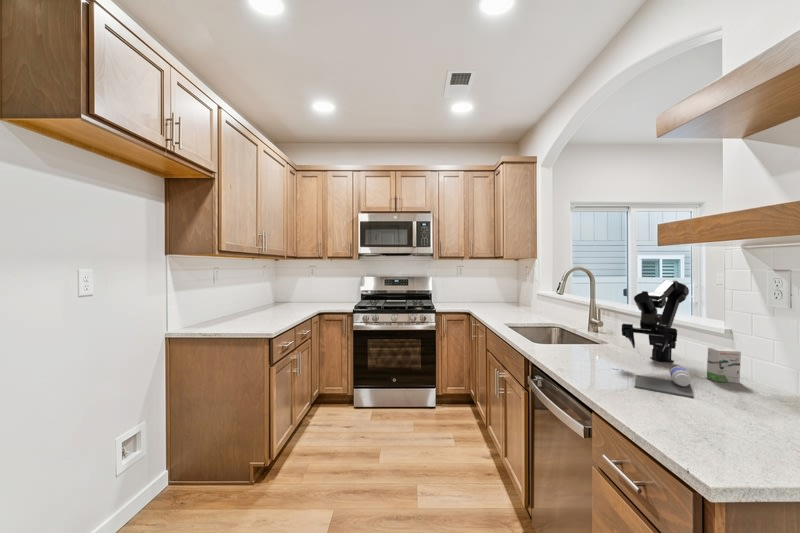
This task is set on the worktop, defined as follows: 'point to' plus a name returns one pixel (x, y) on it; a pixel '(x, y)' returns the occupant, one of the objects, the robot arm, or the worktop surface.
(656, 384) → the rubber mat
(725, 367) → the ink box
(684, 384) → the pill bottle
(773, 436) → the worktop surface
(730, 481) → the worktop surface
